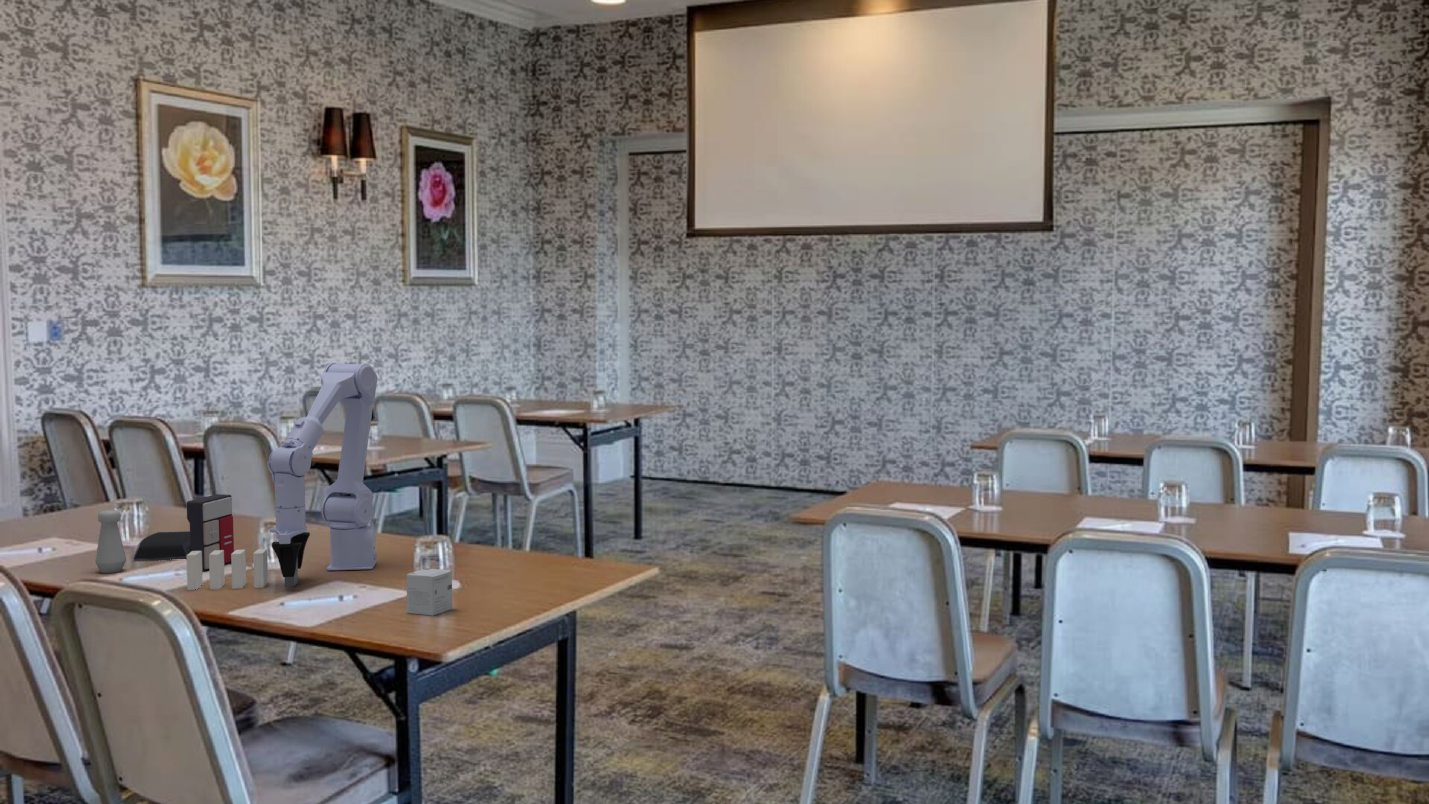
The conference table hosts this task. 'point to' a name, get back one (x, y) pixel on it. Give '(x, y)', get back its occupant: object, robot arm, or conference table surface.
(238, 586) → the tile
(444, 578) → the skincare box
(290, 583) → the tile
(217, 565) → the tile
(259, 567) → the tile
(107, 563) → the salt shaker
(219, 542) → the calculator
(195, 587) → the tile
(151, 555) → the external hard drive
